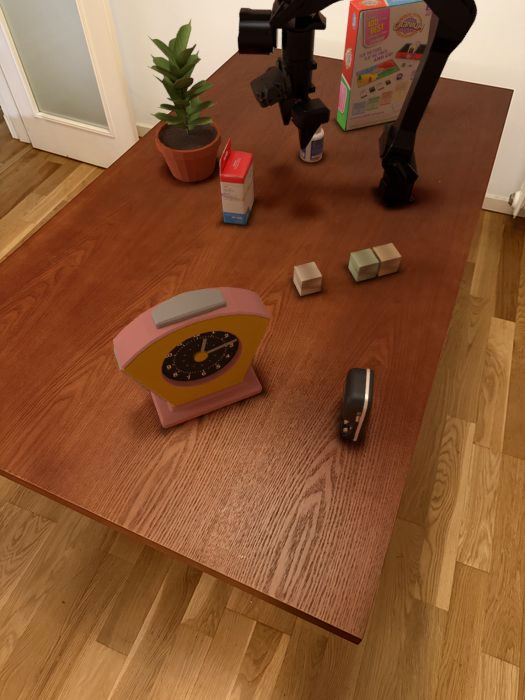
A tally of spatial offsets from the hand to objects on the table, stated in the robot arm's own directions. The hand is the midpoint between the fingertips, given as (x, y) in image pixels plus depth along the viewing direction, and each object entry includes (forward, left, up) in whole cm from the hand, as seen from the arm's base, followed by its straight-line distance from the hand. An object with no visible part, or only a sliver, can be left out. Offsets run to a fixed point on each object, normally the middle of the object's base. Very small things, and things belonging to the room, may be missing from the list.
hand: (294, 136), depth 101 cm
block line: (-1, +28, -13) cm, 31 cm away
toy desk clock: (+31, +44, -13) cm, 55 cm away
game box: (-31, -21, -13) cm, 40 cm away
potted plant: (+19, -15, -13) cm, 28 cm away
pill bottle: (-9, -11, -13) cm, 20 cm away
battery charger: (+11, +57, -13) cm, 60 cm away
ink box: (+13, +3, -13) cm, 19 cm away
